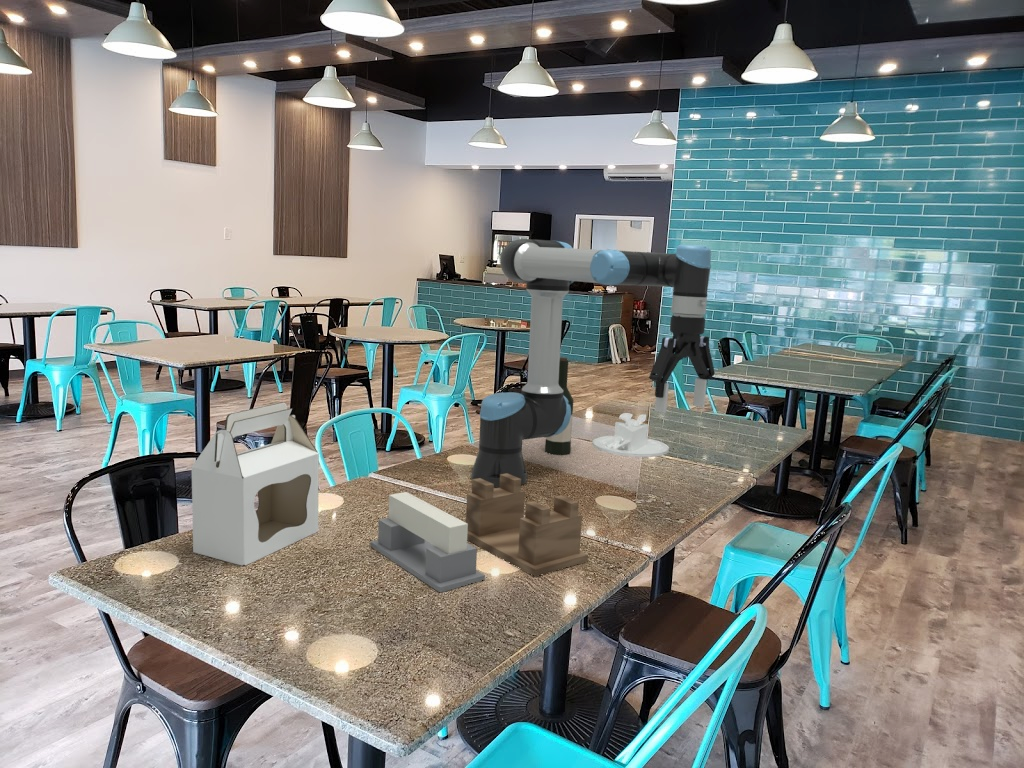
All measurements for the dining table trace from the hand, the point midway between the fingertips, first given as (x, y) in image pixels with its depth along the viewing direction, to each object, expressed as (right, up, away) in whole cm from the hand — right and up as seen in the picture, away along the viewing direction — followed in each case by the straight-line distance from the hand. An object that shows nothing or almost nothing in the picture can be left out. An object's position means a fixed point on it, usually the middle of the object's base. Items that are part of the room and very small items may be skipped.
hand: (679, 409), depth 173 cm
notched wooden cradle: (-36, -29, -13) cm, 48 cm away
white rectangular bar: (-55, -23, -24) cm, 64 cm away
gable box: (-90, -27, -17) cm, 95 cm away
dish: (+1, -16, +78) cm, 80 cm away
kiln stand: (-55, -29, -23) cm, 67 cm away
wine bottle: (-24, -16, +68) cm, 73 cm away
